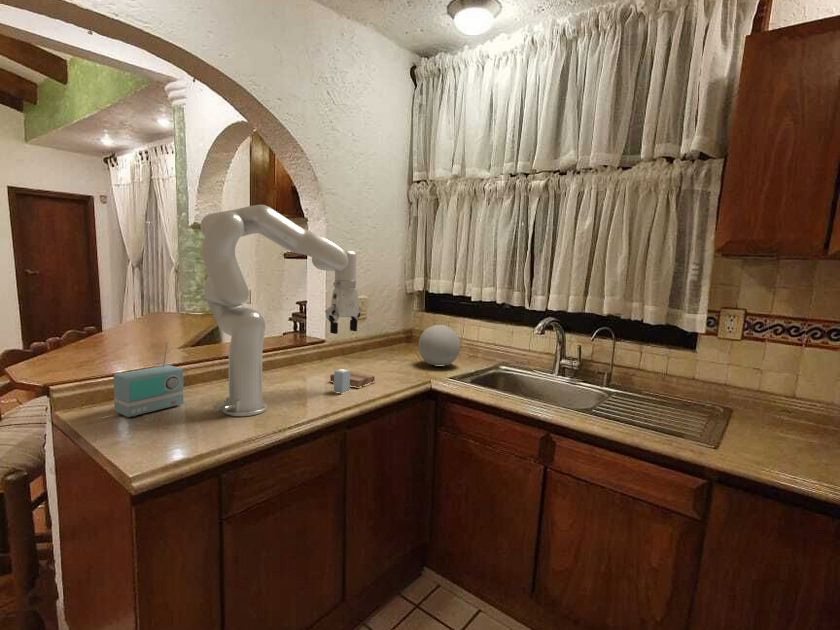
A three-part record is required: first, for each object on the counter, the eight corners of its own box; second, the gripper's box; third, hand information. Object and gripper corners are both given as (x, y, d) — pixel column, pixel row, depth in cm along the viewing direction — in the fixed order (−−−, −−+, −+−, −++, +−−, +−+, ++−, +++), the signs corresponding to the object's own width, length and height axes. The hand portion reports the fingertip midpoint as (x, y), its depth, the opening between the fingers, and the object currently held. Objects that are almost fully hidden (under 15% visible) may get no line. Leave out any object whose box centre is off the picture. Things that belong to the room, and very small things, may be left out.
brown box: (358, 388, 160) (358, 381, 159) (330, 382, 167) (330, 374, 166) (374, 383, 168) (374, 376, 168) (347, 377, 175) (347, 370, 175)
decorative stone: (410, 363, 207) (412, 322, 205) (445, 360, 217) (447, 321, 215) (430, 372, 190) (432, 328, 188) (467, 369, 199) (469, 327, 197)
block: (342, 394, 152) (342, 372, 151) (333, 392, 154) (334, 370, 153) (349, 392, 155) (350, 370, 154) (341, 390, 157) (341, 368, 156)
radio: (129, 421, 118) (127, 350, 116) (114, 414, 123) (112, 346, 121) (186, 406, 132) (185, 343, 130) (170, 401, 137) (169, 339, 134)
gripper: (334, 286, 144) (333, 335, 146) (369, 285, 158) (367, 331, 160) (319, 284, 148) (318, 333, 150) (354, 284, 162) (353, 328, 164)
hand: (343, 332), depth 155 cm, fingers open, 9 cm apart
